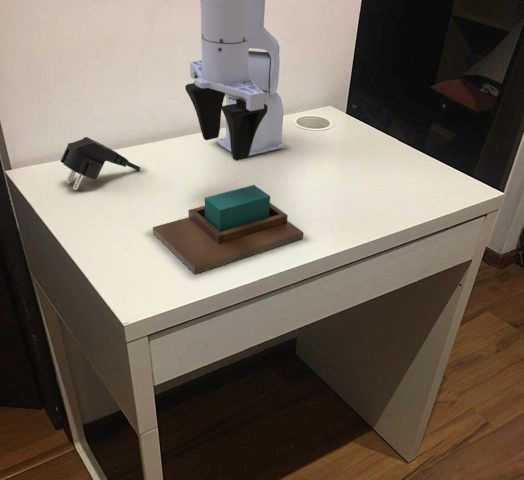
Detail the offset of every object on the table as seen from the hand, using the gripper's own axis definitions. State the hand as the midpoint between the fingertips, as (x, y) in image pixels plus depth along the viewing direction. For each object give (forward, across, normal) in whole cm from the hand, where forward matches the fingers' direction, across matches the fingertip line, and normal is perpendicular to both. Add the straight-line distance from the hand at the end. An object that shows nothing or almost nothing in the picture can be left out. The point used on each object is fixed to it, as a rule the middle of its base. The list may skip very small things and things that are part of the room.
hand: (225, 148), depth 79 cm
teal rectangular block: (+8, +5, -1) cm, 10 cm away
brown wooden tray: (+9, +7, -4) cm, 12 cm away
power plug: (+10, -18, -11) cm, 23 cm away
